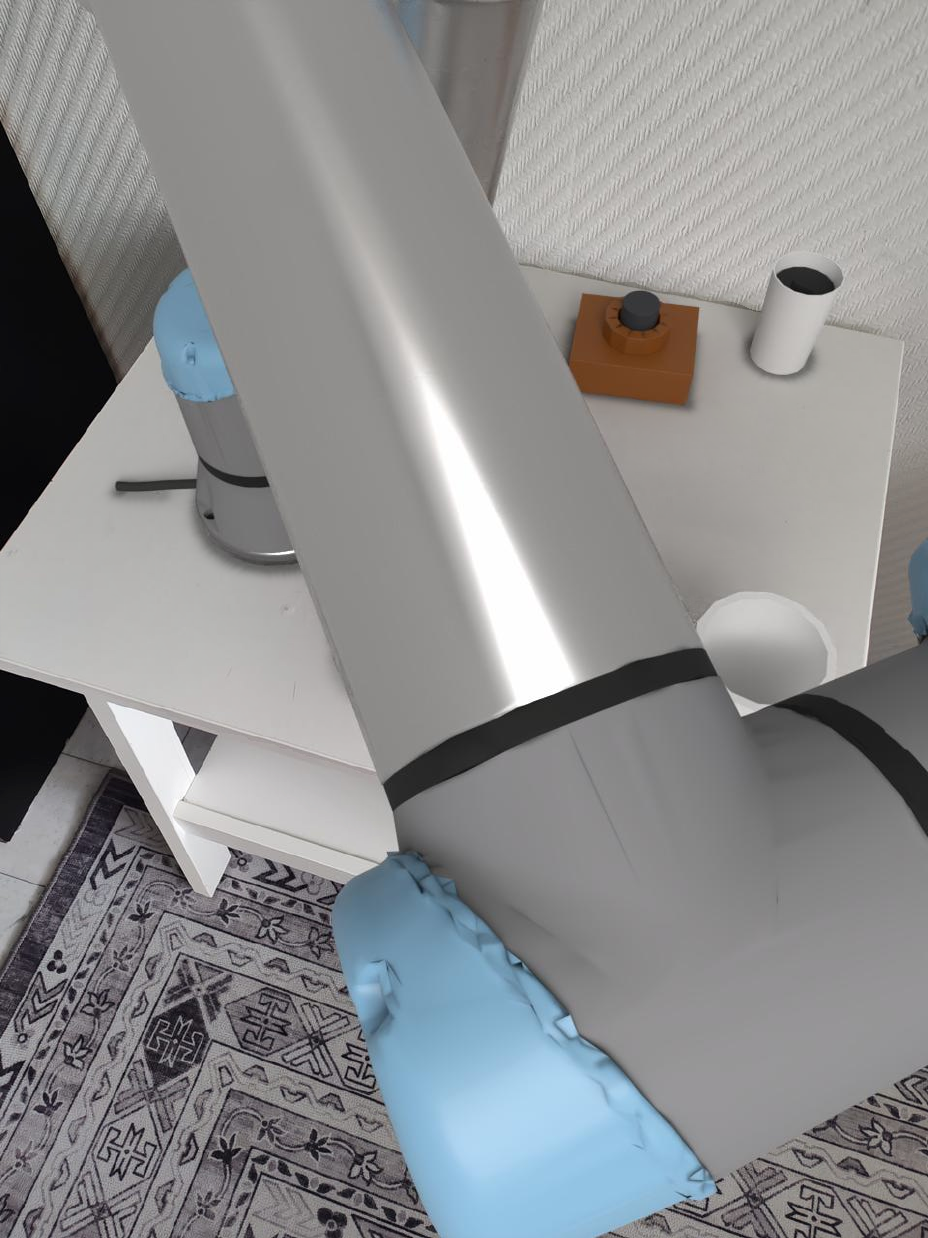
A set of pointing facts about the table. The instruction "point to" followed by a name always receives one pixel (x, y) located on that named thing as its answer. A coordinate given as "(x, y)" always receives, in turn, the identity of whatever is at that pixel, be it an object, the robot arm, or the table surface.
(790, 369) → the white cylindrical cup
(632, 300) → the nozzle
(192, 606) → the table surface
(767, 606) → the foam cup
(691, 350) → the brown block
